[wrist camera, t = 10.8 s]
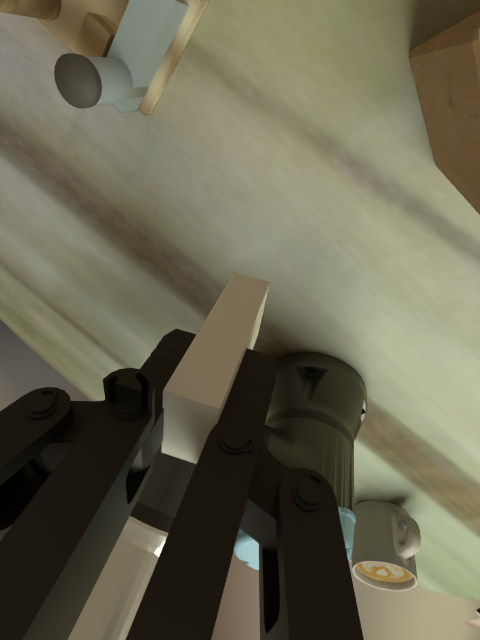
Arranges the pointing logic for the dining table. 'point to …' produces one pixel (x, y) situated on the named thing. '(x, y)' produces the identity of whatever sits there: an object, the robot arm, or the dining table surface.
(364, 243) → the dining table surface
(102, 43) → the wooden twin post stand
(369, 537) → the coffee mug
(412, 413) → the dining table surface
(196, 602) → the robot arm
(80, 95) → the hinged leg
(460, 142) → the wooden block
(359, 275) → the dining table surface
